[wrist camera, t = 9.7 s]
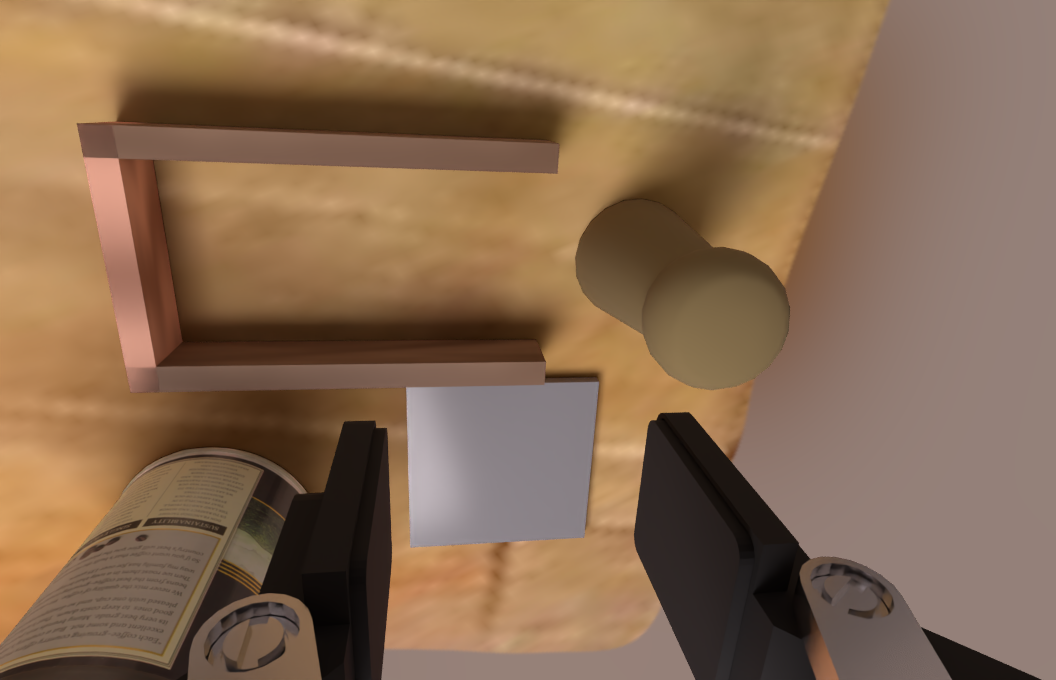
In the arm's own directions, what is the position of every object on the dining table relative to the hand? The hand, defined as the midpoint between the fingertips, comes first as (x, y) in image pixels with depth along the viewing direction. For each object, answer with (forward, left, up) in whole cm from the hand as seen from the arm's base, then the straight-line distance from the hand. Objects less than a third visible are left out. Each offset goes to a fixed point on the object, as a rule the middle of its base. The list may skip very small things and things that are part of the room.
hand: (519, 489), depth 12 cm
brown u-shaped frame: (0, -5, -19) cm, 20 cm away
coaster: (+12, +2, -19) cm, 23 cm away
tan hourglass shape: (0, +8, -20) cm, 21 cm away
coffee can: (+15, -13, -20) cm, 28 cm away
